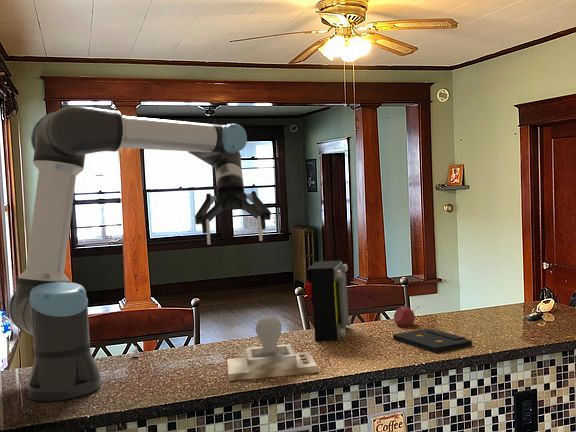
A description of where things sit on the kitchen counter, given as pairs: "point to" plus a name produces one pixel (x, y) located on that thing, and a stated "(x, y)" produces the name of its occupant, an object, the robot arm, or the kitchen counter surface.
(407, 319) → the fruit
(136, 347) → the power adapter
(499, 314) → the kitchen counter surface
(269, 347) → the lightbulb
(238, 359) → the desk organizer
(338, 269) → the electrical component
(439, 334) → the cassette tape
